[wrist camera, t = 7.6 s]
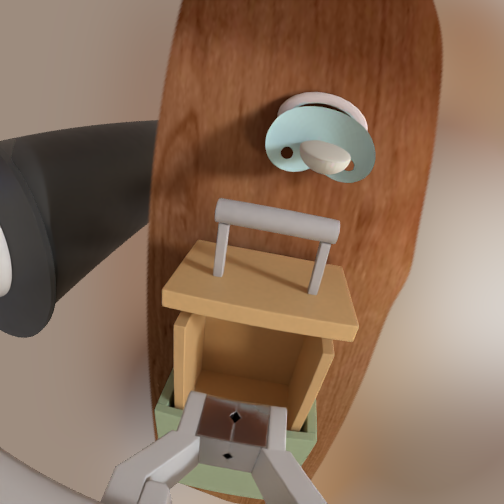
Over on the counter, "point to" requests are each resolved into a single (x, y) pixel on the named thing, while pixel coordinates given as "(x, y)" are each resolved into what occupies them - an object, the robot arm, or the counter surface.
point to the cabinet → (224, 477)
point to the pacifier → (321, 137)
